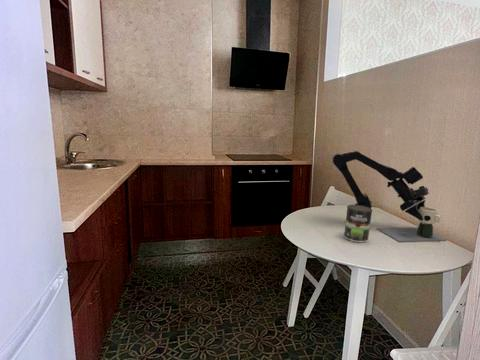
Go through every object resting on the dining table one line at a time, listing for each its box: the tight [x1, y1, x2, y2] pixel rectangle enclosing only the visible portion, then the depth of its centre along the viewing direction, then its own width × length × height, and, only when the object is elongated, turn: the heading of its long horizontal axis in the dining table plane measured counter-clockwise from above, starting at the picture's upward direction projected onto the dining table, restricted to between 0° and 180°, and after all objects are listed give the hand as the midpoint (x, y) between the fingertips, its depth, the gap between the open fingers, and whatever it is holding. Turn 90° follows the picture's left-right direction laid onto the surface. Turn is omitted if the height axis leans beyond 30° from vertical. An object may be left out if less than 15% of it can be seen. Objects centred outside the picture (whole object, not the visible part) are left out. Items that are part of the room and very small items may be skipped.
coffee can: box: [343, 204, 373, 243], centre depth 129 cm, size 10×10×14 cm
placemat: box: [376, 226, 448, 243], centre depth 137 cm, size 24×16×1 cm, turn 99°
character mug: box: [417, 206, 442, 237], centre depth 134 cm, size 11×7×13 cm, turn 27°
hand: (425, 218), depth 134 cm, fingers open, 9 cm apart
